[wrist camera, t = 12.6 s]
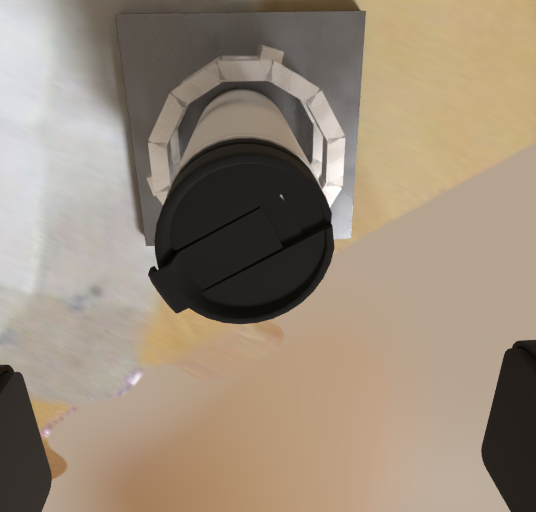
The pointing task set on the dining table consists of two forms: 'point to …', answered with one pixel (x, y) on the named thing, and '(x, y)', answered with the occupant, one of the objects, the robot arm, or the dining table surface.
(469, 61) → the dining table surface
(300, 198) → the travel mug
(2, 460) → the robot arm
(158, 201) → the collar stand
